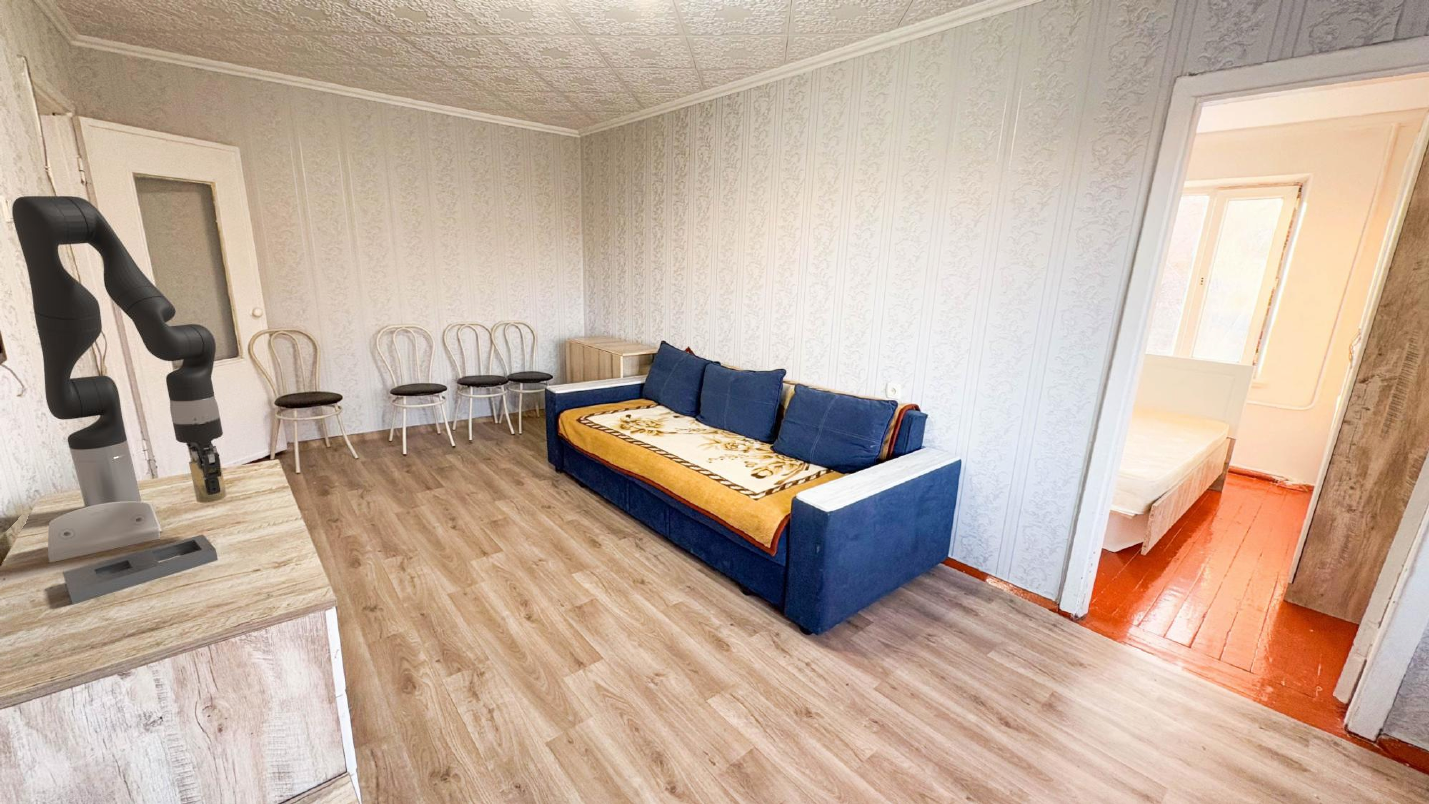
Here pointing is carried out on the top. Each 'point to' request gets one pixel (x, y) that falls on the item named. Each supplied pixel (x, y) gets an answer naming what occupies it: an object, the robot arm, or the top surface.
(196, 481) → the cylinder
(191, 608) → the top surface
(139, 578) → the grey flat block
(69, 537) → the grey curved housing
